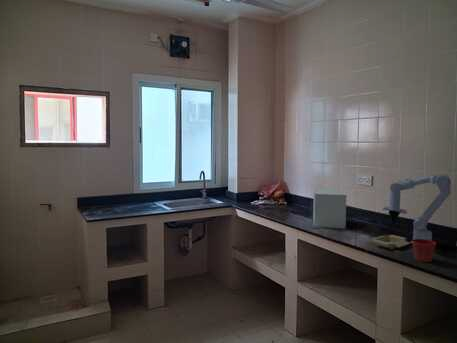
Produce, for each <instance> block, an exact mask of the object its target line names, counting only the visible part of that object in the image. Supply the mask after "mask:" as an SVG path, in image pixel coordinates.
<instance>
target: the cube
mask: <svg viewBox="0 0 457 343" xmlns="http://www.w3.org/2000/svg"><path fill="white" fill-rule="evenodd" d="M312 210H313V214H312V216H313V217H312V220H313V226H314V228H326V227H327V228H328V229H329V228H330V229H346V223H347V222H346V220H347V219H346V218H347V193H346V192H344V190H343V189H322V188H321V189H318V188H317V189H313V209H312Z"/></svg>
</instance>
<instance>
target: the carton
mask: <svg viewBox="0 0 457 343" xmlns="http://www.w3.org/2000/svg"><path fill="white" fill-rule="evenodd" d="M384 236H385V237H382V238H378V239H374V240H370V241H371V242H373V245H375V246H378V247H381V248H385V249H390V250H393V249H397V248H398V247H397V246H395V245H394V244H392V243H394V242H397V241H401V240H405V241H406V240H407V237H404V236H399V235H394V234H390V235H384Z"/></svg>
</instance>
